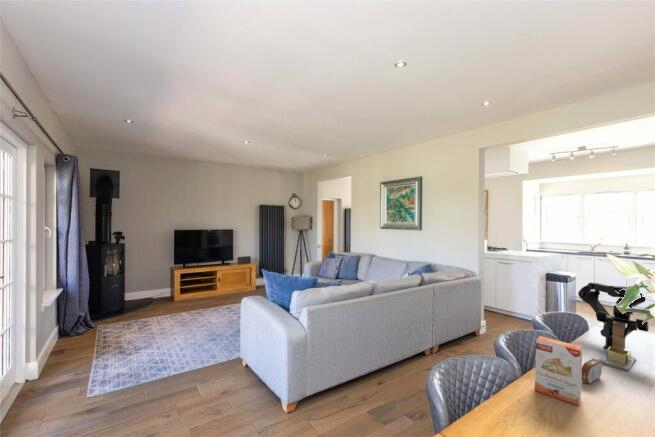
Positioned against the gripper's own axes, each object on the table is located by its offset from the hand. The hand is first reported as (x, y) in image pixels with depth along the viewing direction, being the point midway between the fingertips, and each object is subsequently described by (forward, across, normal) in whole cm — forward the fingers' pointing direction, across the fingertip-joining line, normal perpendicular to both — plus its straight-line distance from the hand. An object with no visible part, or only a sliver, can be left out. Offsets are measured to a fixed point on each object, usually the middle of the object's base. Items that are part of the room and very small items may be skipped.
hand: (618, 335), depth 151 cm
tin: (+33, -3, -15) cm, 36 cm away
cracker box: (+51, -8, -33) cm, 62 cm away
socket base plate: (+9, 0, +9) cm, 13 cm away
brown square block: (+4, 0, +6) cm, 7 cm away
